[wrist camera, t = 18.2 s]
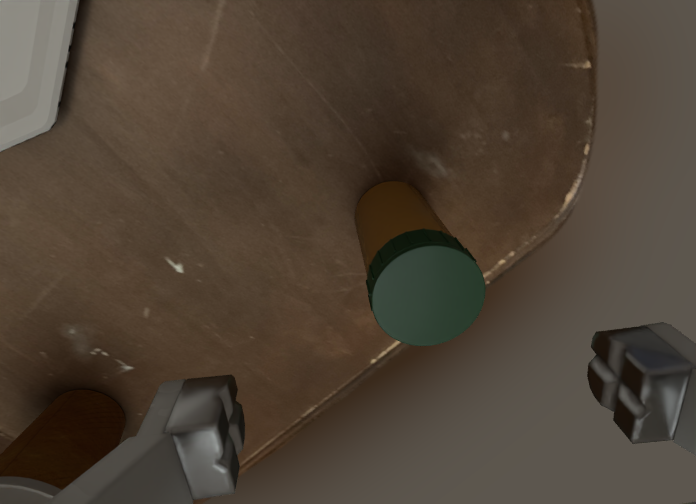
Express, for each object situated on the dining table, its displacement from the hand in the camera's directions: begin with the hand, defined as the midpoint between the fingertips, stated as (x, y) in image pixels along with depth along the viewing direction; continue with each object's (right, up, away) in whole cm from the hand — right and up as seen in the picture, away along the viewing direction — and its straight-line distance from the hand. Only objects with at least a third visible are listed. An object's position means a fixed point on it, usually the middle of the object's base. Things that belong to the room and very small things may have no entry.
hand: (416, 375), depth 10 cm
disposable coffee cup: (-24, -12, +30) cm, 40 cm away
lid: (+3, +1, +13) cm, 13 cm away
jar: (+2, +5, +24) cm, 25 cm away
